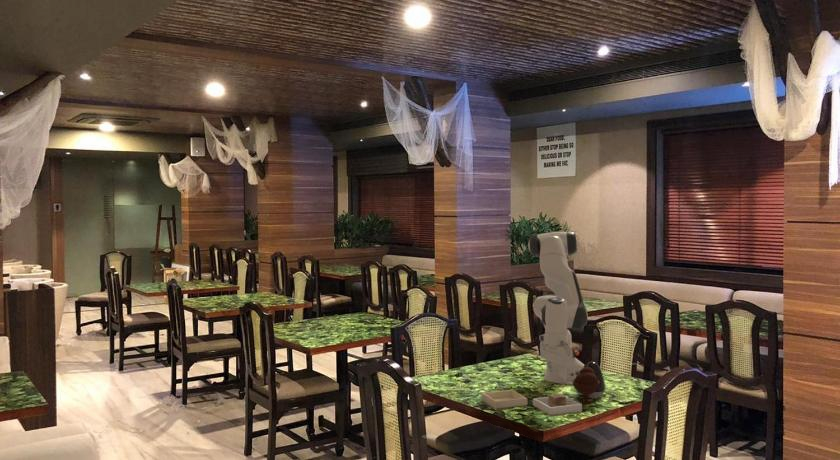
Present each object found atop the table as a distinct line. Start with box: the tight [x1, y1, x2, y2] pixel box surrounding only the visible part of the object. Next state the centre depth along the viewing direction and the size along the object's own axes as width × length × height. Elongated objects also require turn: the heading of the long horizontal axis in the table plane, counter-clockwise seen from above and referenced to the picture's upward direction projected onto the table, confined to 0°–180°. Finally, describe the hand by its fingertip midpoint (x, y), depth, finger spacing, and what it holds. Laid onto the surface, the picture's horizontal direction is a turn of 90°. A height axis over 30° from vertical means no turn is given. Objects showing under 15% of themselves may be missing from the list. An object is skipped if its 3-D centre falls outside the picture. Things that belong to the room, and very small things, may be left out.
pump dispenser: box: [584, 361, 606, 400], centre depth 288 cm, size 10×10×15 cm
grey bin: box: [532, 396, 583, 416], centre depth 270 cm, size 14×14×4 cm
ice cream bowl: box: [572, 367, 600, 405], centre depth 277 cm, size 11×11×15 cm
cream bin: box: [481, 389, 528, 411], centre depth 279 cm, size 14×14×4 cm
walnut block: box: [547, 393, 567, 407], centre depth 270 cm, size 5×5×5 cm
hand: (556, 374), depth 269 cm, fingers open, 8 cm apart
